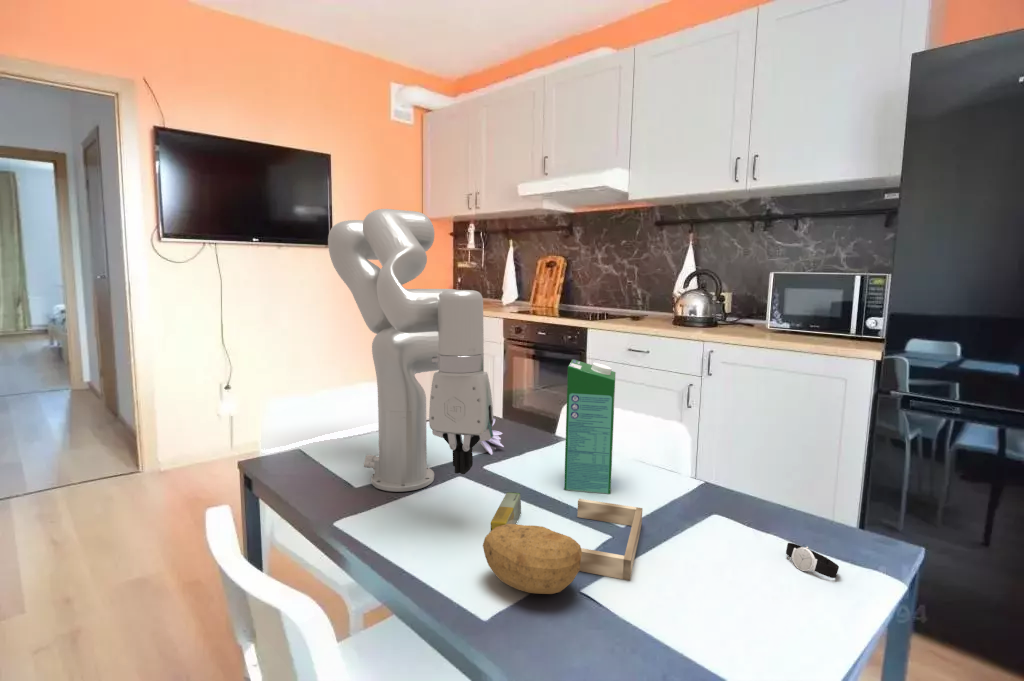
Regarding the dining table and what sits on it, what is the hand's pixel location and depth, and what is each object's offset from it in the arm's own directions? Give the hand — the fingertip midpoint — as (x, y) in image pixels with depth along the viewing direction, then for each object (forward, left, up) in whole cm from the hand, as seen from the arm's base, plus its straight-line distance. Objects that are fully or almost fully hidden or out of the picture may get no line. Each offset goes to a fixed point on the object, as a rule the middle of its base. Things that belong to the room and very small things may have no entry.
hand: (462, 471), depth 92 cm
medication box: (+8, +1, -9) cm, 12 cm away
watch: (+54, +4, -10) cm, 55 cm away
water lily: (-11, +38, -9) cm, 40 cm away
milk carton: (+17, +24, -9) cm, 31 cm away
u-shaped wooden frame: (+23, 0, -9) cm, 25 cm away
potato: (+16, -14, -9) cm, 24 cm away
